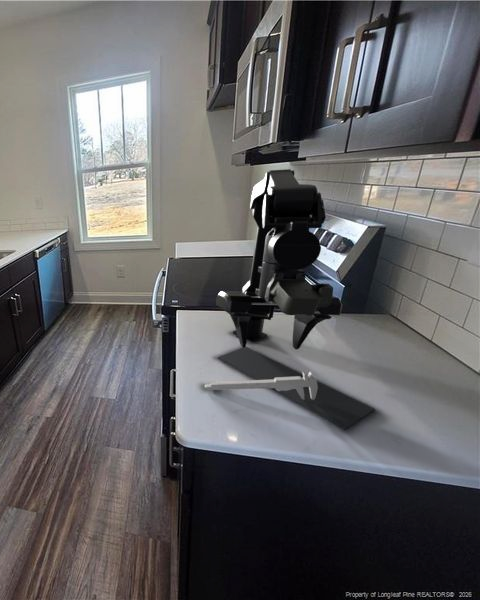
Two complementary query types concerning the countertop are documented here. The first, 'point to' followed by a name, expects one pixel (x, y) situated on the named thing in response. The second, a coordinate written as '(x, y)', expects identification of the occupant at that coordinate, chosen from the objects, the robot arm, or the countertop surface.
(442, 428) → the countertop surface
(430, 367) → the countertop surface
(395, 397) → the countertop surface
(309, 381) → the caliper
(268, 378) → the mat
